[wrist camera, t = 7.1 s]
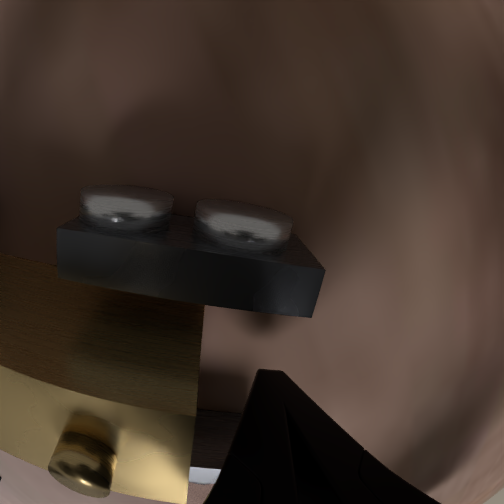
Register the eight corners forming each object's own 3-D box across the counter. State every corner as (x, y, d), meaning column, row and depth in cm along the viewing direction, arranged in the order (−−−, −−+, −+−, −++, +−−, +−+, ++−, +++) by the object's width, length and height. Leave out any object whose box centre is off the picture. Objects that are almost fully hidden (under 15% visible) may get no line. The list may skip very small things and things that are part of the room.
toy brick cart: (240, 440, 10) (247, 504, 7) (-60, 352, 8) (-91, 385, 5) (300, 211, 8) (344, 246, 5) (-89, 168, 6) (-139, 181, 3)
